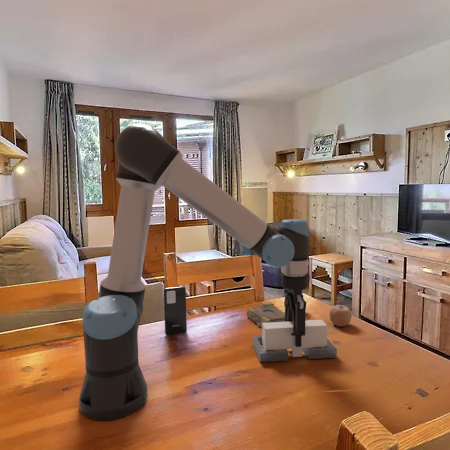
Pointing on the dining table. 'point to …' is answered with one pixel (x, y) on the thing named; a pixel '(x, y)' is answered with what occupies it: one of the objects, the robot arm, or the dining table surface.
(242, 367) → the dining table surface
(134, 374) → the robot arm
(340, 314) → the fruit
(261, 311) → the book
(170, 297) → the smartphone
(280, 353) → the keyhole plates
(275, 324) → the bar
